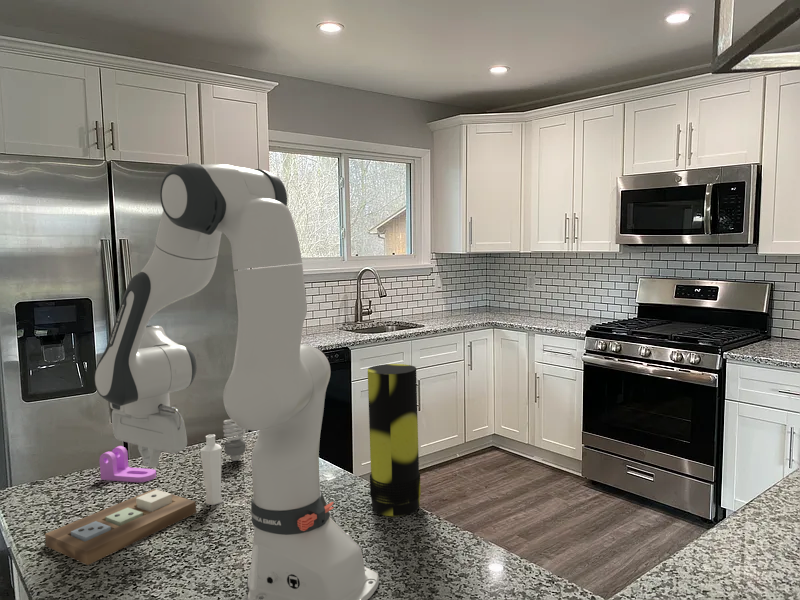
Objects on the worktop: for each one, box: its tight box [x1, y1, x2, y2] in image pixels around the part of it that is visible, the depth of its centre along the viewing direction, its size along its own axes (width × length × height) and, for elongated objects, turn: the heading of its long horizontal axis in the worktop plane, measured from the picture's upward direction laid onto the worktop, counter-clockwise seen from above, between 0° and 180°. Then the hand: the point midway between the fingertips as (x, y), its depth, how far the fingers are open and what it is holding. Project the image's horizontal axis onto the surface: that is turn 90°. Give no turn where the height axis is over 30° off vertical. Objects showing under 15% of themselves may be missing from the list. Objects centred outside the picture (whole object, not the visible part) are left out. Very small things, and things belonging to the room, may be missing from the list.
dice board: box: [44, 488, 197, 566], centre depth 121 cm, size 14×24×2 cm, turn 148°
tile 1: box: [136, 489, 173, 512], centre depth 127 cm, size 5×5×3 cm
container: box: [367, 363, 422, 517], centre depth 127 cm, size 11×11×30 cm
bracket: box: [98, 445, 157, 483], centre depth 149 cm, size 13×6×7 cm, turn 77°
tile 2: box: [105, 508, 143, 526], centre depth 121 cm, size 5×5×3 cm
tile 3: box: [71, 521, 111, 542], centre depth 115 cm, size 5×5×3 cm
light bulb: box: [222, 419, 246, 462], centre depth 158 cm, size 6×6×12 cm
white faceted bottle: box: [199, 434, 224, 506], centre depth 133 cm, size 5×4×15 cm
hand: (151, 465), depth 126 cm, fingers closed
